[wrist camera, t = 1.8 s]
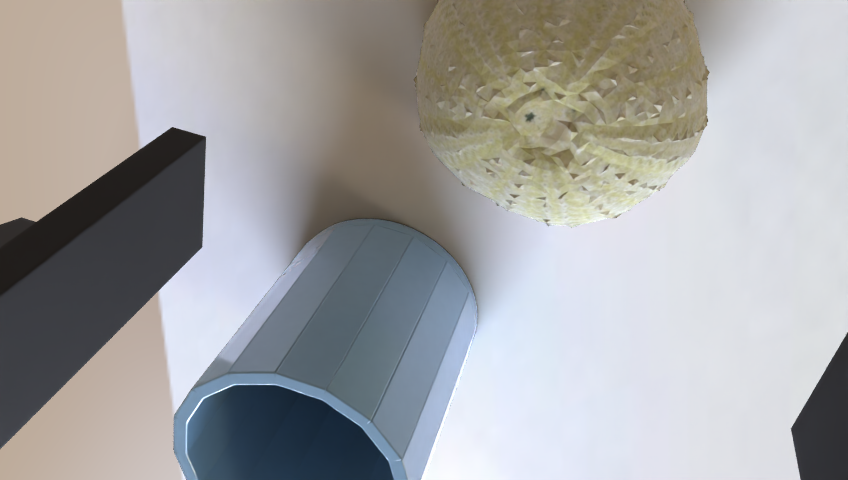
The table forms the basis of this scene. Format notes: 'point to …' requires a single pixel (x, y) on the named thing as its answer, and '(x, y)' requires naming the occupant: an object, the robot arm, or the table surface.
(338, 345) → the tumbler
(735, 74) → the table surface
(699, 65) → the sea urchin shell
